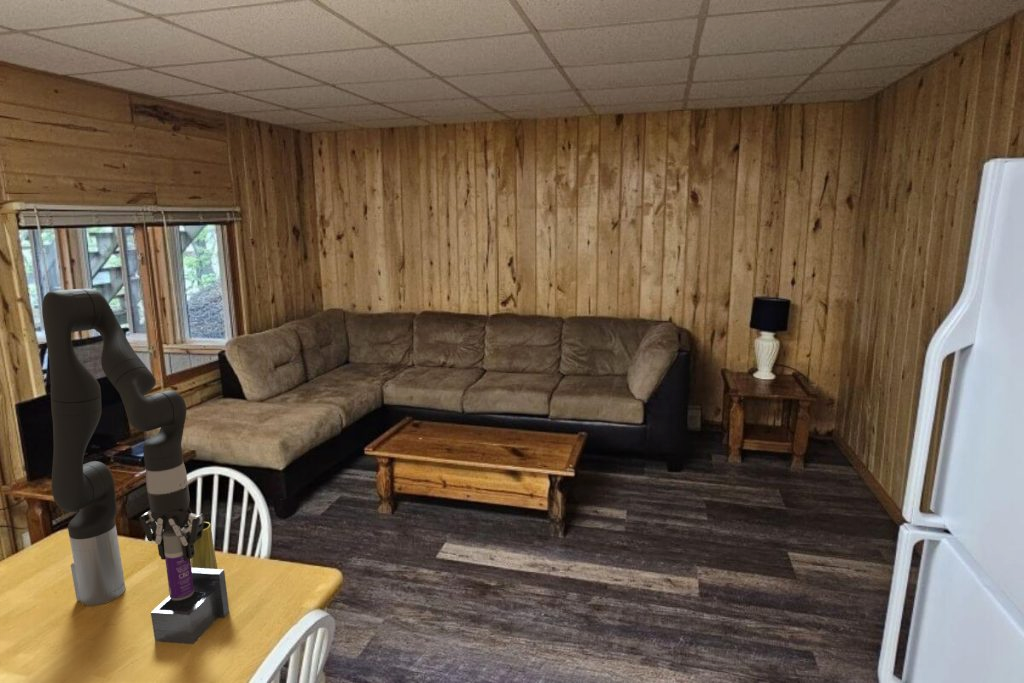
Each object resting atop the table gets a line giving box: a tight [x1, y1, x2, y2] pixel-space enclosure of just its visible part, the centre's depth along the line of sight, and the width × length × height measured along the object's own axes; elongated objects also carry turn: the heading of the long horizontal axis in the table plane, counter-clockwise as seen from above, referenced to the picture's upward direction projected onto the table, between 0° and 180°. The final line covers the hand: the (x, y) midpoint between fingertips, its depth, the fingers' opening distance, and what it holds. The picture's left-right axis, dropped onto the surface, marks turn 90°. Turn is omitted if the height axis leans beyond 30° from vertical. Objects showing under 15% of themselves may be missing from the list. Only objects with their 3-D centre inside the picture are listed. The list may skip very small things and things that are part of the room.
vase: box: [190, 521, 219, 569], centre depth 155 cm, size 6×6×14 cm
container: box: [163, 527, 194, 600], centre depth 134 cm, size 5×5×15 cm
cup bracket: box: [150, 567, 230, 645], centre depth 137 cm, size 12×11×11 cm
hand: (177, 557), depth 134 cm, fingers closed on container, 4 cm apart
